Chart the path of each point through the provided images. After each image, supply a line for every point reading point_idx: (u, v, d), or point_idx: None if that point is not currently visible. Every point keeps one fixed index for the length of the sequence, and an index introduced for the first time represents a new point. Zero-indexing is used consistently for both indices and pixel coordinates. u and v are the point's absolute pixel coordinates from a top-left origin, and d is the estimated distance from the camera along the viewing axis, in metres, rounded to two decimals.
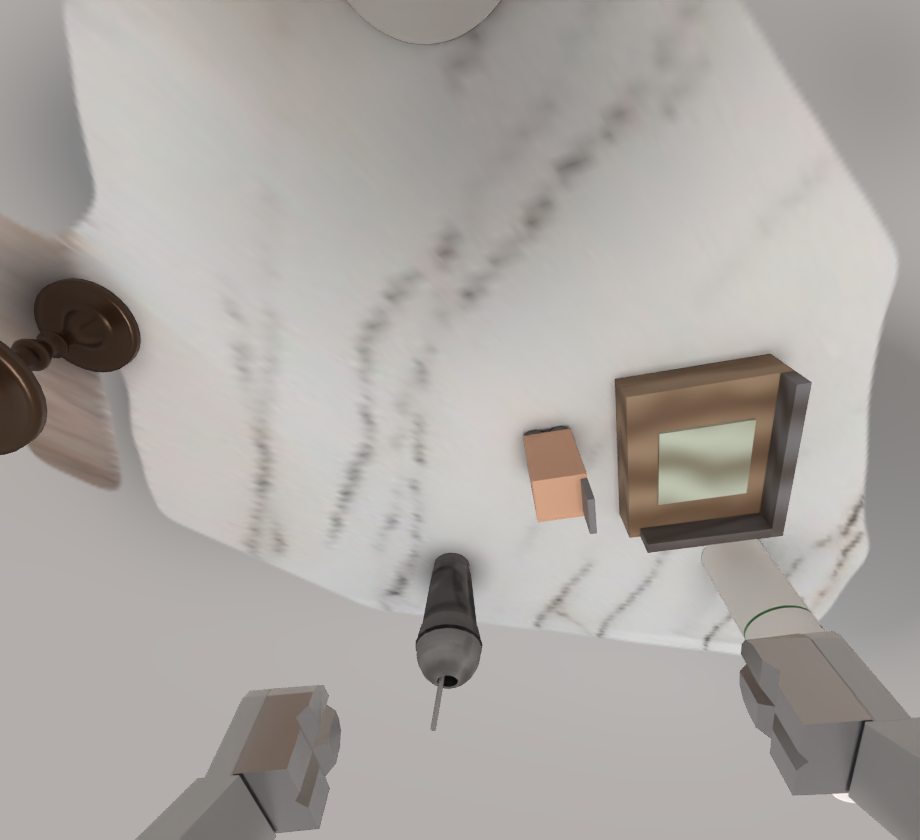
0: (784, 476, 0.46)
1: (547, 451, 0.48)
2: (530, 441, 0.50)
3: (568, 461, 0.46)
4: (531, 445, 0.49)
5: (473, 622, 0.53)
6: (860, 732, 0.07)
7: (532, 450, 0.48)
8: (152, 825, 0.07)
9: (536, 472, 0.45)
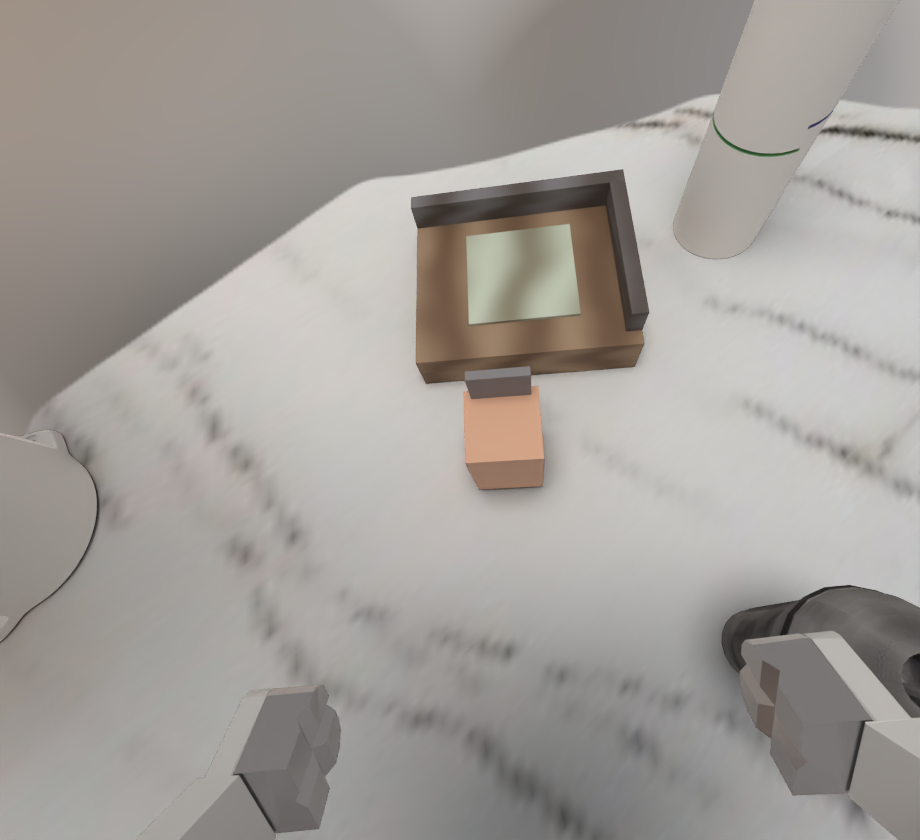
0: (527, 190, 0.41)
1: None
2: None
3: None
4: None
5: (799, 600, 0.24)
6: (860, 732, 0.07)
7: None
8: (152, 825, 0.07)
9: None
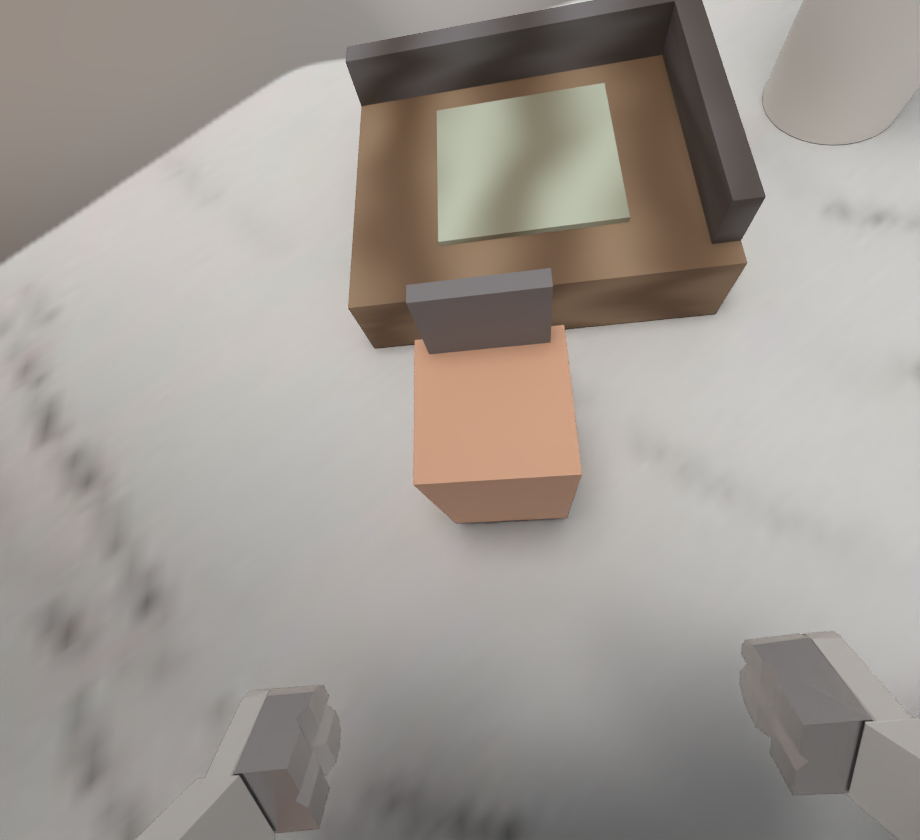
0: (535, 23, 0.24)
1: None
2: None
3: None
4: None
5: None
6: (860, 732, 0.07)
7: None
8: (152, 825, 0.07)
9: None
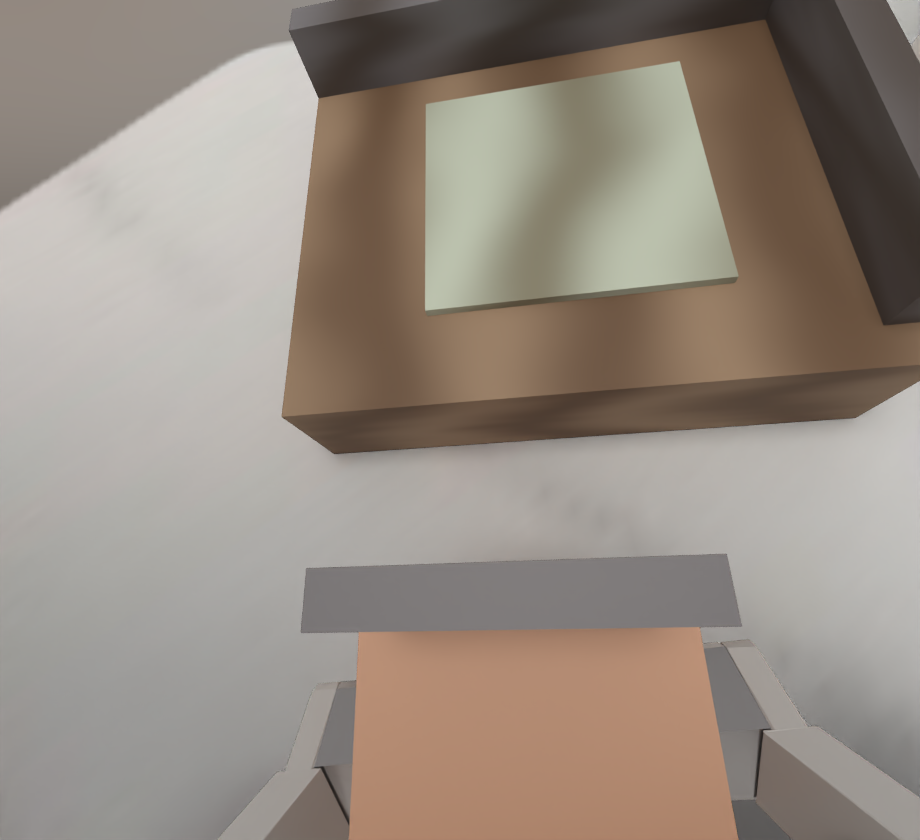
0: None
1: None
2: None
3: None
4: None
5: None
6: (760, 740, 0.07)
7: None
8: (238, 819, 0.07)
9: None
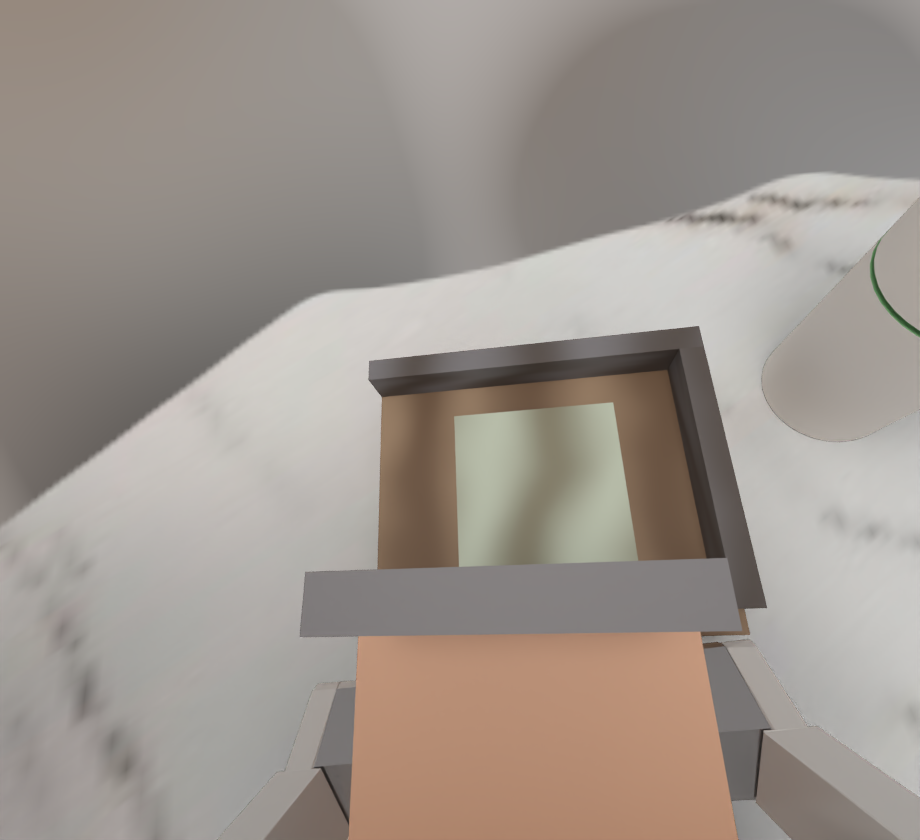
0: (547, 356, 0.26)
1: None
2: None
3: None
4: None
5: None
6: (759, 740, 0.07)
7: None
8: (237, 819, 0.07)
9: None
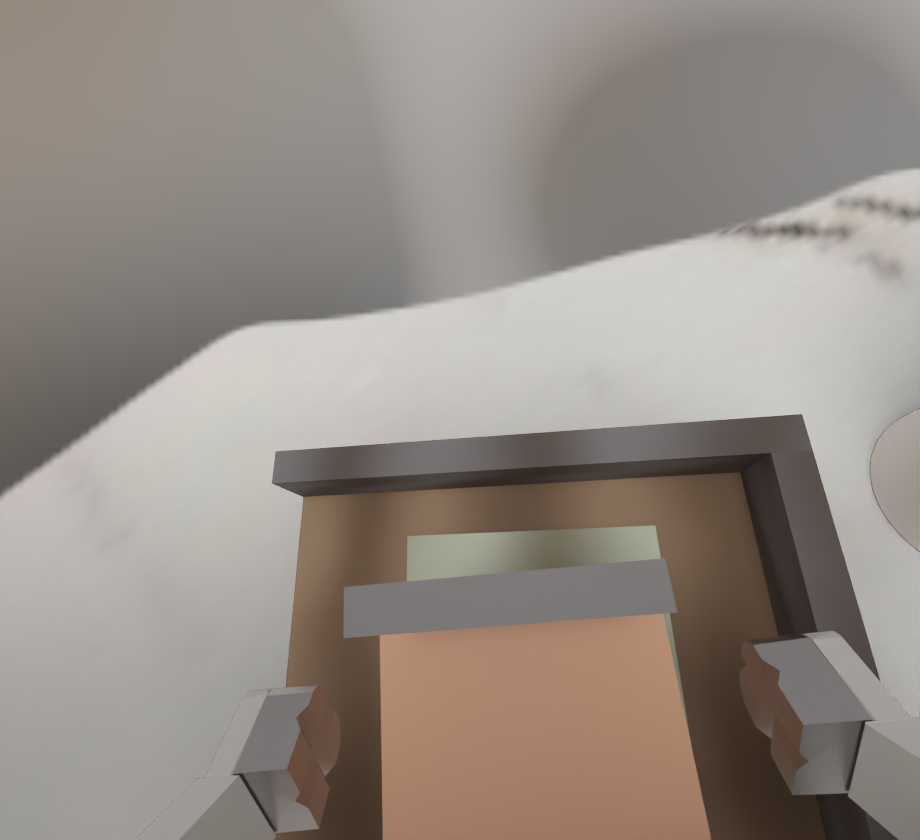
0: (552, 456, 0.16)
1: None
2: None
3: None
4: None
5: None
6: (860, 732, 0.07)
7: None
8: (152, 825, 0.07)
9: None
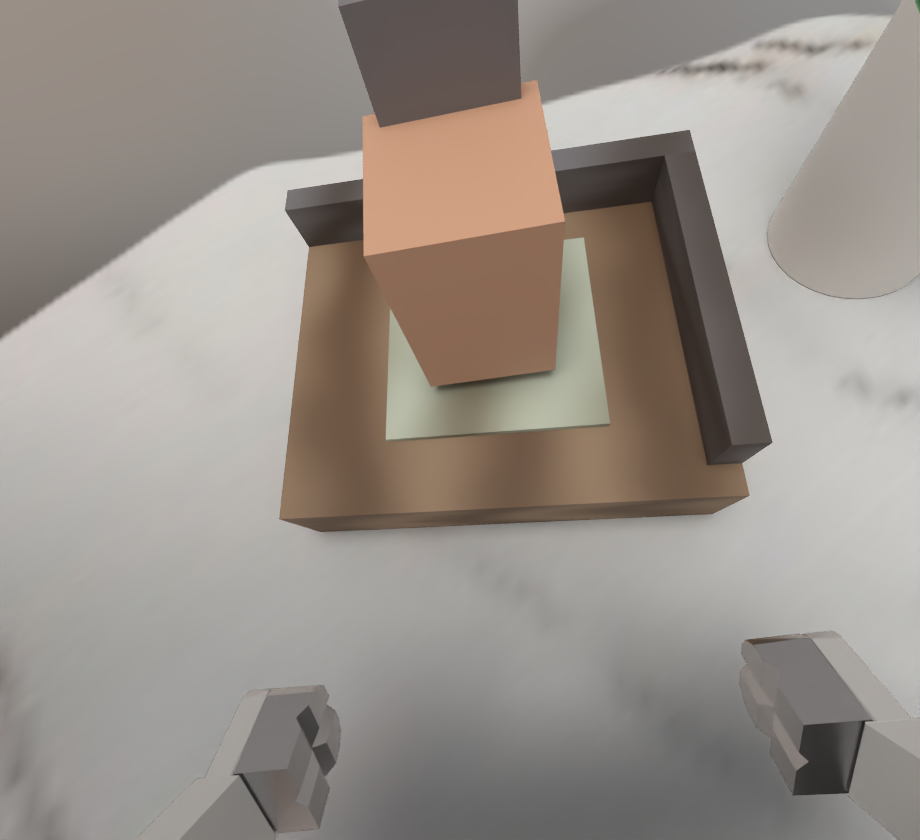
0: None
1: None
2: None
3: None
4: None
5: None
6: (860, 732, 0.07)
7: None
8: (152, 825, 0.07)
9: None
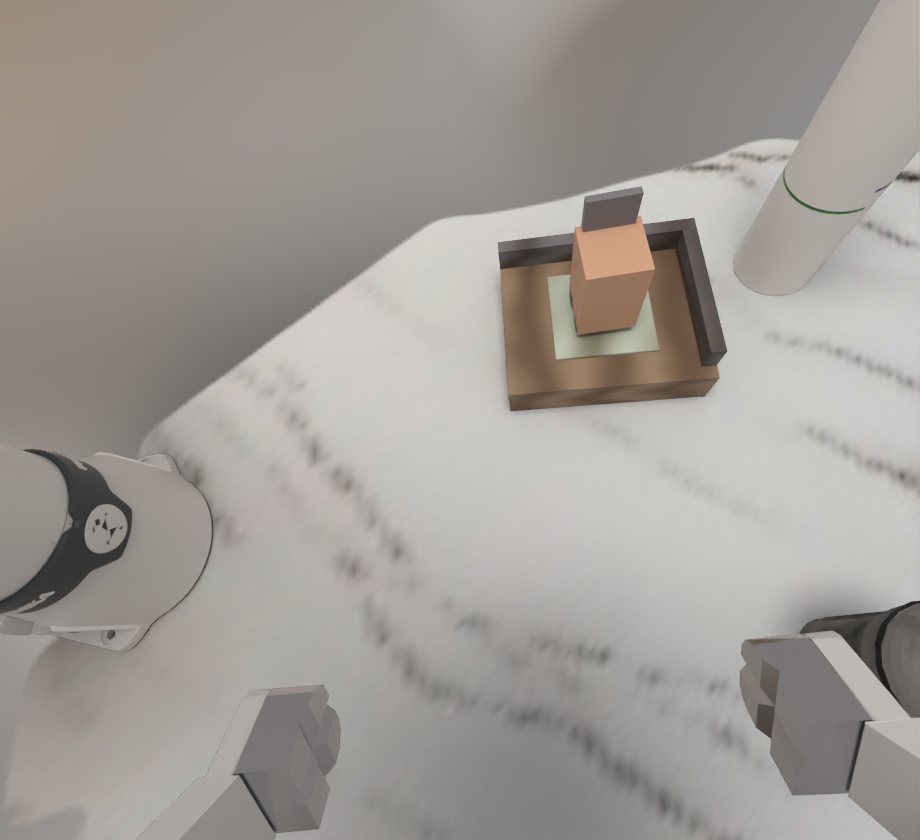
0: None
1: (577, 291, 0.41)
2: (577, 320, 0.42)
3: (575, 259, 0.39)
4: (578, 316, 0.41)
5: (885, 612, 0.28)
6: (860, 732, 0.07)
7: (579, 310, 0.41)
8: (152, 825, 0.07)
9: (583, 283, 0.37)
